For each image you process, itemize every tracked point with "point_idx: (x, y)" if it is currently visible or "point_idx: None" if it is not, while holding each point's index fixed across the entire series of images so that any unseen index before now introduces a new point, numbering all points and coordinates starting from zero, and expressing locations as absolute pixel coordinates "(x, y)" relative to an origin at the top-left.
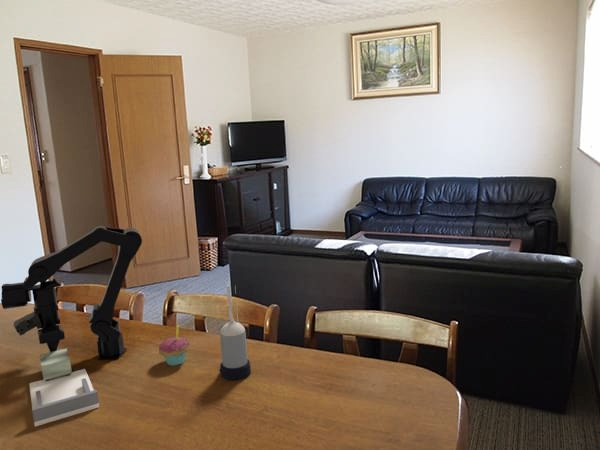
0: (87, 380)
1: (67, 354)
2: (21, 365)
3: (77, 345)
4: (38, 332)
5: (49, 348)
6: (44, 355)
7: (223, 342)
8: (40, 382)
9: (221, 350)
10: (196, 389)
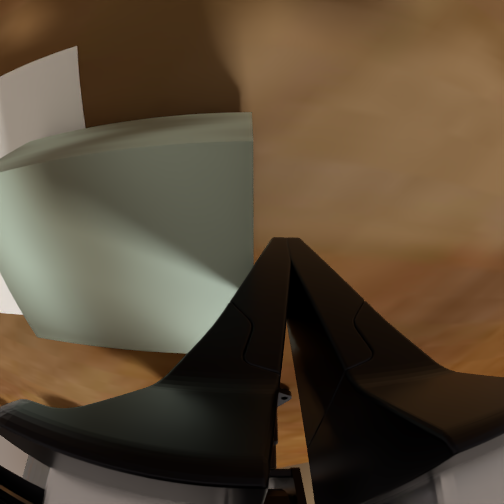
0: (9, 307)
1: (114, 345)
2: (439, 15)
3: (447, 314)
4: (500, 435)
5: (246, 283)
6: (184, 195)
7: (26, 476)
8: (48, 115)
9: (39, 465)
10: (9, 400)
